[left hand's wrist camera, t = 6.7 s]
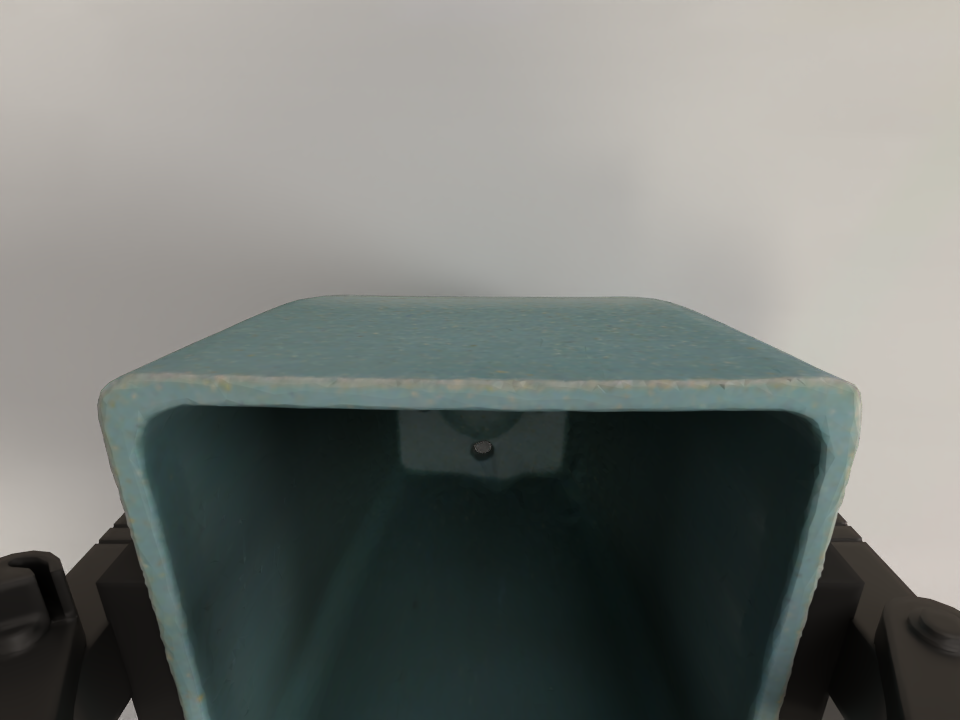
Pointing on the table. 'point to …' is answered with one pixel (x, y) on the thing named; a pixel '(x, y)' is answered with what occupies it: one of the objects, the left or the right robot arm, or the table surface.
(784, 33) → the table surface
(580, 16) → the table surface
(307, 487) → the teal square planter
